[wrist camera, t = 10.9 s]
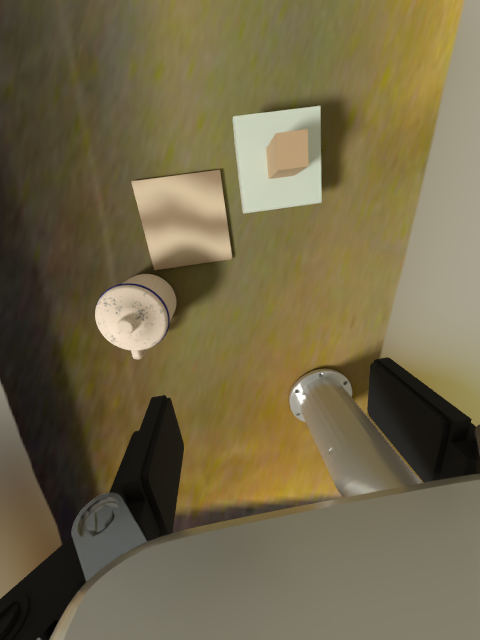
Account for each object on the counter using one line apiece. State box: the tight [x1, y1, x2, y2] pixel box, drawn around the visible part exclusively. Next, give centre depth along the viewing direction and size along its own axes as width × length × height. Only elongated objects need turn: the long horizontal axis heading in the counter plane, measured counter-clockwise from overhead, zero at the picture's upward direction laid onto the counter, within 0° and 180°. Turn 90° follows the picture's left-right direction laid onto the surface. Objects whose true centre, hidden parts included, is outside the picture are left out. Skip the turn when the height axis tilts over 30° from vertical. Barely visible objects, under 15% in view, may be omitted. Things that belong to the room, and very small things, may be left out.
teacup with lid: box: [95, 274, 176, 359], centre depth 35 cm, size 12×9×12 cm
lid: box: [233, 106, 321, 214], centre depth 28 cm, size 10×10×6 cm
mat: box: [131, 170, 232, 270], centre depth 36 cm, size 12×12×1 cm
